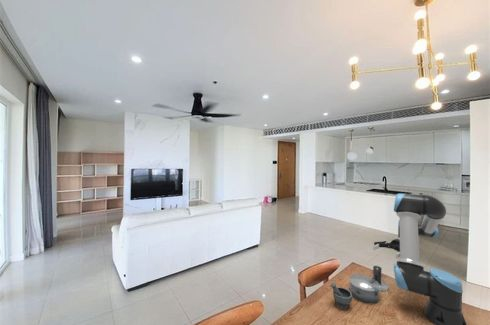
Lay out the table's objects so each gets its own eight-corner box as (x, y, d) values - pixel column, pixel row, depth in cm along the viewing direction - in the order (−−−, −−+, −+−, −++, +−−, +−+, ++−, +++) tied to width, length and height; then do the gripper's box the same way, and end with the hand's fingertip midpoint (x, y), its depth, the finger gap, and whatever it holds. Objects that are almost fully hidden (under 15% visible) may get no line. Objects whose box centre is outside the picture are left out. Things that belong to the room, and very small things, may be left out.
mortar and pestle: (347, 299, 120) (347, 278, 120) (355, 311, 111) (355, 289, 110) (327, 298, 121) (327, 278, 120) (333, 310, 111) (334, 288, 111)
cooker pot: (384, 306, 114) (384, 291, 114) (353, 301, 118) (353, 287, 118) (373, 288, 130) (374, 275, 129) (346, 284, 133) (346, 272, 133)
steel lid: (392, 292, 126) (392, 274, 125) (369, 289, 128) (370, 271, 128) (383, 281, 137) (384, 263, 137) (363, 278, 140) (363, 261, 140)
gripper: (420, 256, 139) (407, 266, 127) (379, 243, 160) (365, 250, 148) (420, 245, 139) (407, 254, 127) (379, 233, 160) (365, 240, 148)
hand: (384, 252), depth 138 cm, fingers open, 13 cm apart
